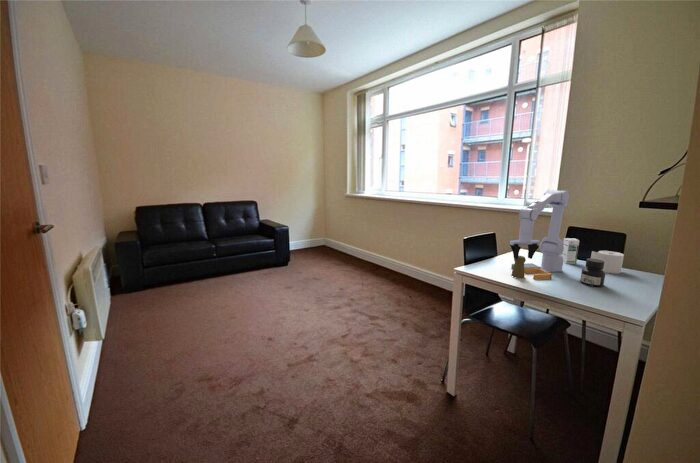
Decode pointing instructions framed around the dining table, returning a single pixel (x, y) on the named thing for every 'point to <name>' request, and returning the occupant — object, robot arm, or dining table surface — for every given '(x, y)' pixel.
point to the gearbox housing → (535, 271)
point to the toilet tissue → (610, 260)
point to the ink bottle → (593, 273)
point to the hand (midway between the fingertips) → (522, 258)
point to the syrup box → (570, 250)
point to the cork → (518, 267)
